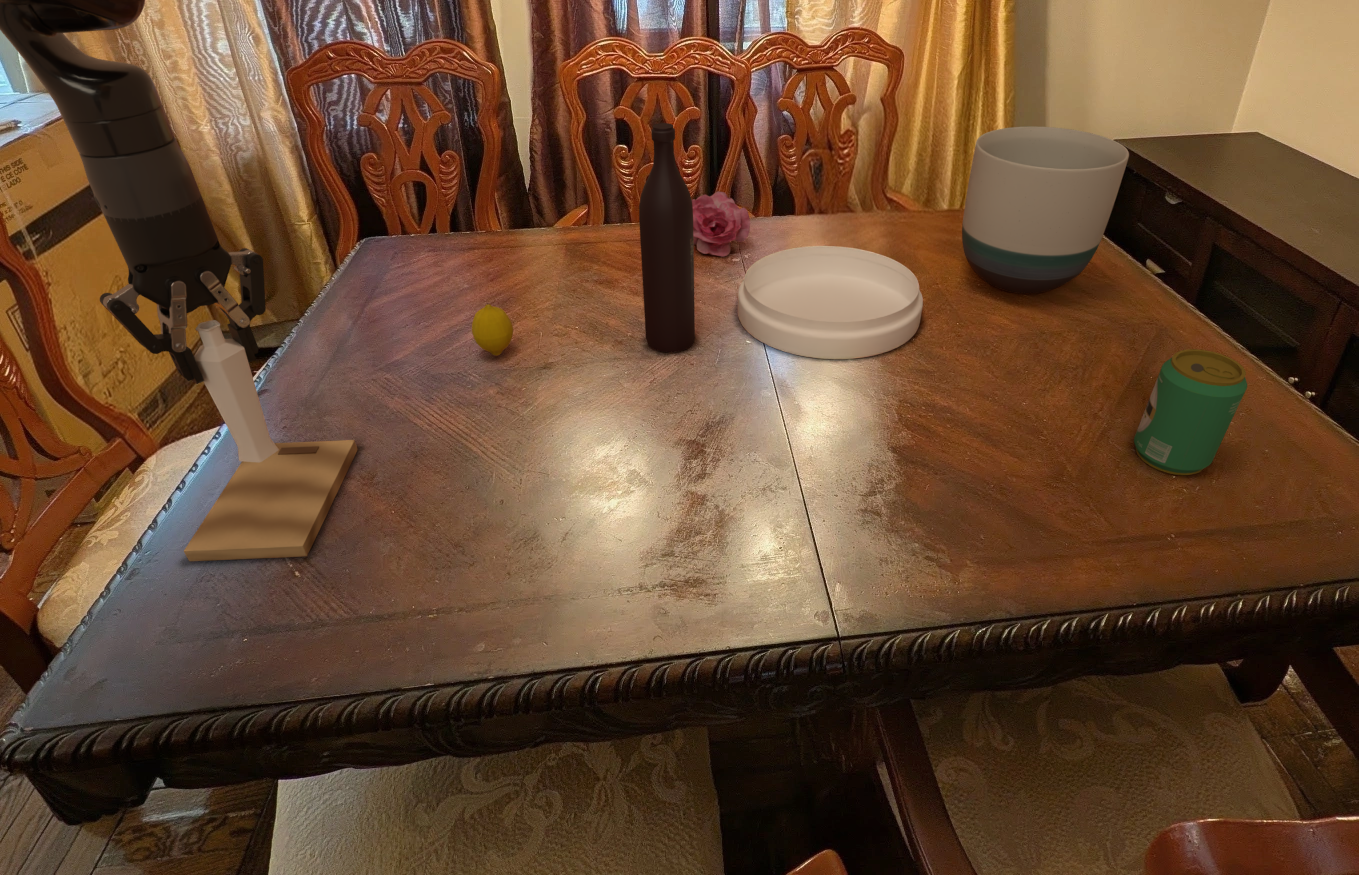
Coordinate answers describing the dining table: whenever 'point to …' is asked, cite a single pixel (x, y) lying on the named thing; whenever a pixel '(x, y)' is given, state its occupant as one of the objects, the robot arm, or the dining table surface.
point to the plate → (830, 302)
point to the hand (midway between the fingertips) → (223, 368)
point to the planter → (1038, 204)
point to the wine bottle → (667, 249)
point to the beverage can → (1189, 411)
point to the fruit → (492, 329)
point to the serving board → (274, 503)
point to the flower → (718, 223)
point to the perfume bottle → (234, 392)
